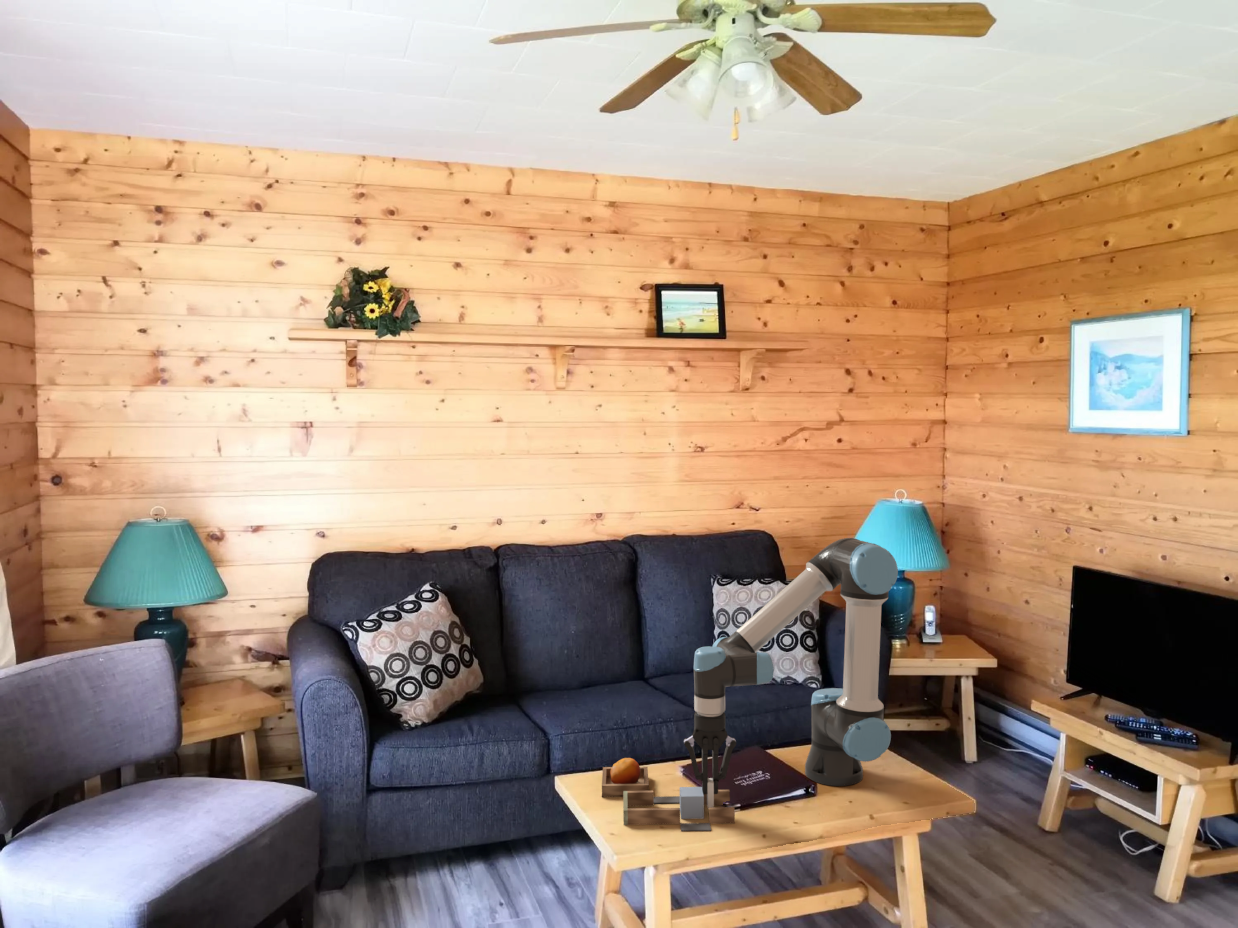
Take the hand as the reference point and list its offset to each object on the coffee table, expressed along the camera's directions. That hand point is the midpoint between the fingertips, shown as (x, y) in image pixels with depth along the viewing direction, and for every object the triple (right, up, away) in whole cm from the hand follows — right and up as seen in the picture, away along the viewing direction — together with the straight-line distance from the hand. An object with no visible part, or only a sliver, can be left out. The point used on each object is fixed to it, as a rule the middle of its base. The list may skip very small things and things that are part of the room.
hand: (710, 806), depth 222 cm
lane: (-8, -2, 0) cm, 8 cm away
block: (-4, -2, 0) cm, 5 cm away
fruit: (-21, -1, +16) cm, 26 cm away
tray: (-21, -1, +16) cm, 26 cm away
